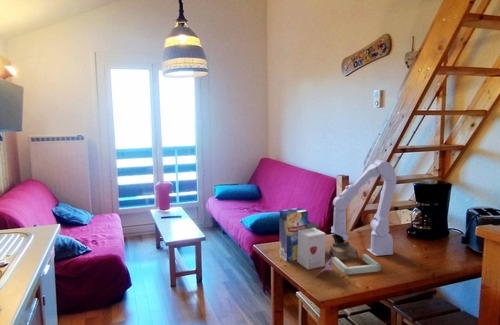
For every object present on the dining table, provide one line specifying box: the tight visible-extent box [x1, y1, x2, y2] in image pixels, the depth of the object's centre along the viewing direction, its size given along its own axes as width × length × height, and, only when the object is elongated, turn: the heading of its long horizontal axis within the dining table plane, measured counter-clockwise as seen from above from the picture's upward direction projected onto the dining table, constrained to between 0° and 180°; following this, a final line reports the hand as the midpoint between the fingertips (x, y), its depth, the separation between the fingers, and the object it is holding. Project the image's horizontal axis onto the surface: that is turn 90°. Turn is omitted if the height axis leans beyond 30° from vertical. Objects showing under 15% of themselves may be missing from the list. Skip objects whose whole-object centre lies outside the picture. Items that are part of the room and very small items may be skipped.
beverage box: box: [278, 207, 309, 263], centre depth 168 cm, size 7×11×22 cm, turn 115°
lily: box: [316, 254, 339, 279], centre depth 149 cm, size 12×12×10 cm
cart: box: [328, 241, 359, 261], centre depth 169 cm, size 11×7×6 cm, turn 101°
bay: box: [332, 253, 382, 276], centre depth 158 cm, size 16×12×2 cm
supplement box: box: [296, 228, 327, 270], centre depth 160 cm, size 9×9×15 cm
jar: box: [308, 222, 320, 230], centre depth 177 cm, size 9×8×12 cm
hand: (338, 249), depth 174 cm, fingers closed
